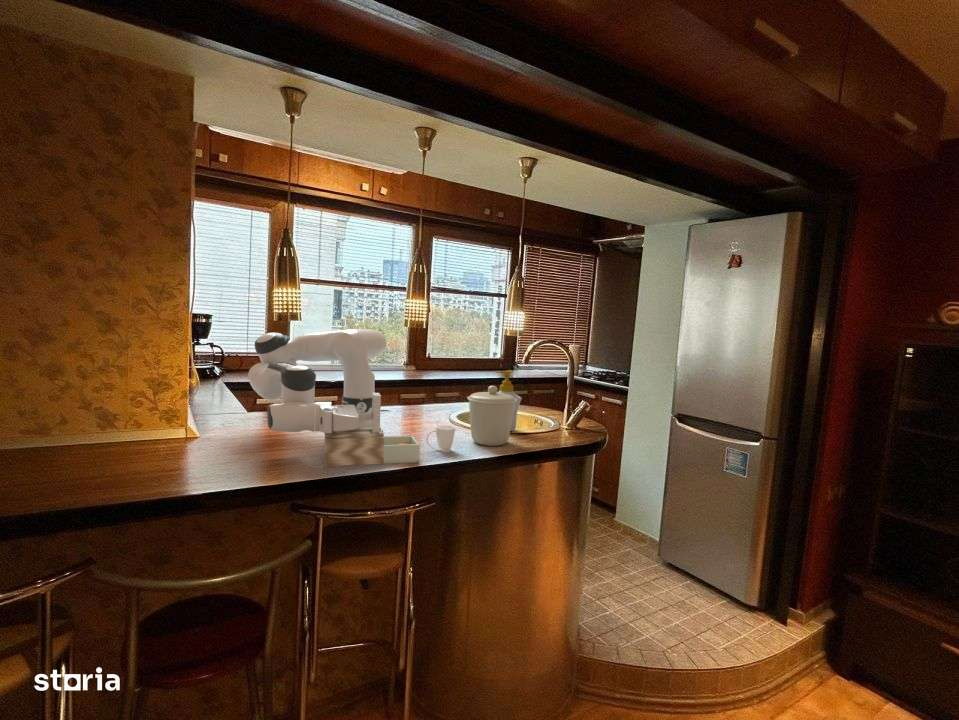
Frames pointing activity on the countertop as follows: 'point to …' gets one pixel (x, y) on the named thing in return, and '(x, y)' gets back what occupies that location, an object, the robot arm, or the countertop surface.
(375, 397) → the plunger paddle
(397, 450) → the pale green open box
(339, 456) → the chevron patterned box
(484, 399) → the canister
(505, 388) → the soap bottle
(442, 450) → the cup
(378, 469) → the countertop surface
